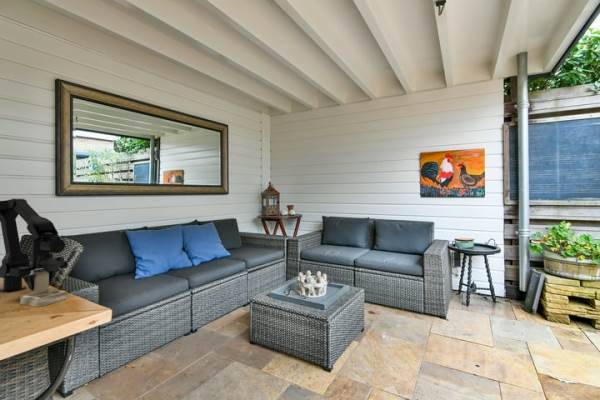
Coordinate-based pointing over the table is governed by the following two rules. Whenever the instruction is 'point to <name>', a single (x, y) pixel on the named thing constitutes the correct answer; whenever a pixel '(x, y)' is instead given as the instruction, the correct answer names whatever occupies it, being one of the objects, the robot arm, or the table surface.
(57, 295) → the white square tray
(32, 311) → the table surface
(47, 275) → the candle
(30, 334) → the table surface
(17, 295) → the table surface
